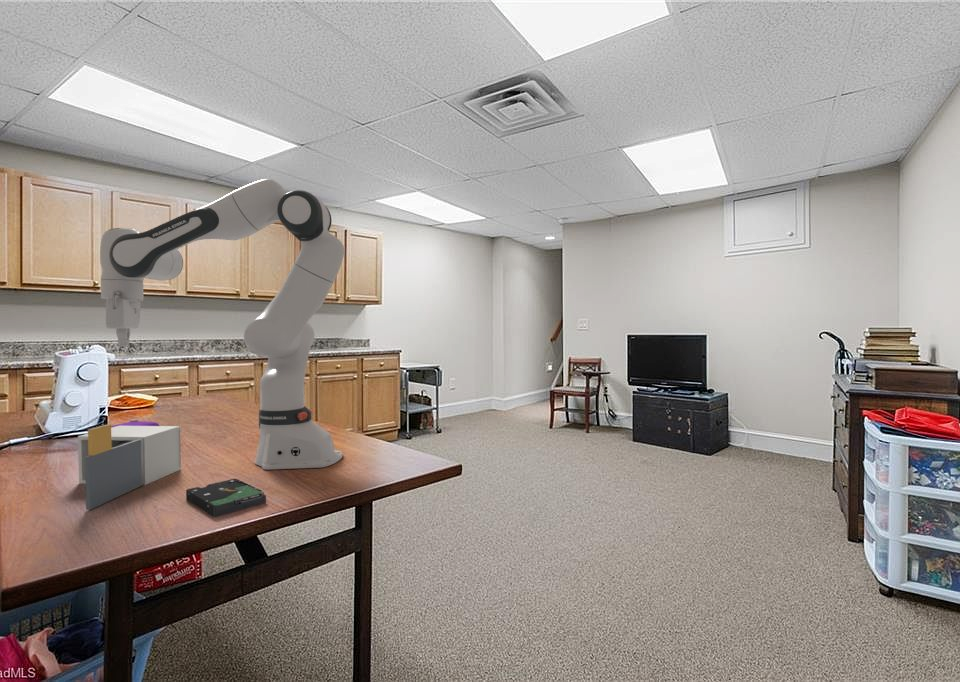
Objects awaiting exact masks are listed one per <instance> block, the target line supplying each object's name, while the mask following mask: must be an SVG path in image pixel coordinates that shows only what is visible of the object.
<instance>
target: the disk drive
mask: <svg viewBox="0 0 960 682" xmlns="http://www.w3.org/2000/svg"><path fill="white" fill-rule="evenodd" d="M185 491H186V492H185V493H186V494H185V495H186V496H185V499H186V501H187V502H189V503H191V504H192V505H194V506H196V507H197V508H199V509H200V510H202V511H204V512H205V513H206V514H208V515H210V516H211V517H213V518H217V517H220V516H224V515H227V514H231V513H234V512H239V511H242V510H246V509H248V508H249V509H250V508H252V507H256V506H260V505H264V504H266V503H267V495H266V494H265V492H264V491H263V489H260V488H257V487H255V486H253V485H250V484H249V483H246V482H245V481H243V480H241V479H238V478H231V479H227V480H223V481H219V482H213V483H209V484H207V485H206V486H204V487H199V486H196V487H192V488H187V489H186V490H185Z"/></svg>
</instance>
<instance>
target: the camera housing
mask: <svg viewBox="0 0 960 682" xmlns="http://www.w3.org/2000/svg"><path fill="white" fill-rule="evenodd" d="M111 439H112V448H113V447H116V446H119V445H122V444H125V443H128V442H131V441H134V440H137V439H143V476H144V485H143V486H147V485H149V484H151V483H153V482H155V481H158V480H160V479H162V478H164V477H167V476H169V475H171V474H174V473H177V472H179V471H180V470H182V468H181V467H182V466H181V465H182V463H181V461H182V458H181V426H179V425H177V426H175V425H174V426H173V425H169V426H168V425H159V426H116V427H112V428H111ZM77 453H78V458H77V459H78V484H80V485H81V484H82V485H84V484H85V485H86V480H85V457H86V456H89V452H88V433H85V434H82V435H78V436H77Z"/></svg>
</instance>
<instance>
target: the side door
mask: <svg viewBox="0 0 960 682" xmlns="http://www.w3.org/2000/svg"><path fill="white" fill-rule="evenodd" d="M111 426H112V424H109V423H108V424H103V425H101V426H99V425H98V426H96V427H93V428H87V434H88V452H89V456H86V457H85V480H86V484H85V510H86V511H91V510H93V509H95V508H97V507H99V506H101V505H104V504H105V503H107V502H110V501H112V500H114V499H116V498H119V497H121V496H123V495H125V494H127V493H129V492H131V491H133V490H135V489H137V488H139V487H141V486H145V485H144V476H143V439H137V440H134V441H131V442H128V443H125V444H122V445H119V446H116V447H113V448H112V439H111Z"/></svg>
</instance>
